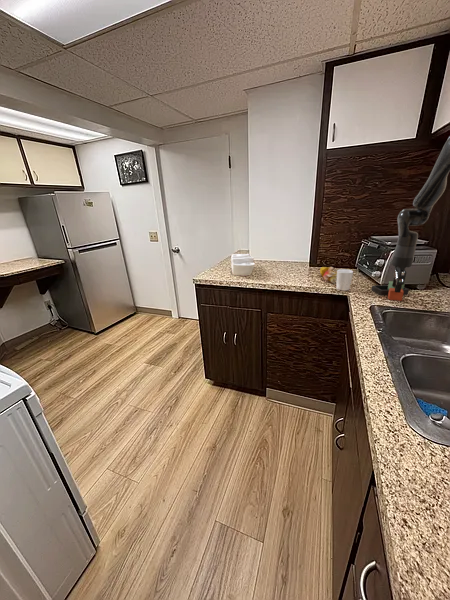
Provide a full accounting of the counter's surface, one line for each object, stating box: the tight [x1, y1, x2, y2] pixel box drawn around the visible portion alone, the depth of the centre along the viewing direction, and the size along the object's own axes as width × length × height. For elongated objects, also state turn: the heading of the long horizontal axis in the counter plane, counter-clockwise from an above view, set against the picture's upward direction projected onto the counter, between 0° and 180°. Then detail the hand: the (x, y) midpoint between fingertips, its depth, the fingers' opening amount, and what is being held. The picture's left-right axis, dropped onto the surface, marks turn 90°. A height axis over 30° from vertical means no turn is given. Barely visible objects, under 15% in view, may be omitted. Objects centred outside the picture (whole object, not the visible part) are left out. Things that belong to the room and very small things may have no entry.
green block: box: [387, 280, 406, 290], centre depth 127 cm, size 5×4×5 cm
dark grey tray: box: [370, 284, 410, 296], centre depth 127 cm, size 14×8×2 cm, turn 91°
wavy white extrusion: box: [230, 253, 256, 276], centre depth 179 cm, size 35×16×11 cm, turn 178°
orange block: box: [387, 288, 404, 302], centre depth 118 cm, size 5×4×5 cm
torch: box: [319, 266, 337, 285], centre depth 152 cm, size 8×8×25 cm
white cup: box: [335, 268, 354, 292], centre depth 133 cm, size 8×8×10 cm
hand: (395, 289), depth 117 cm, fingers open, 8 cm apart
